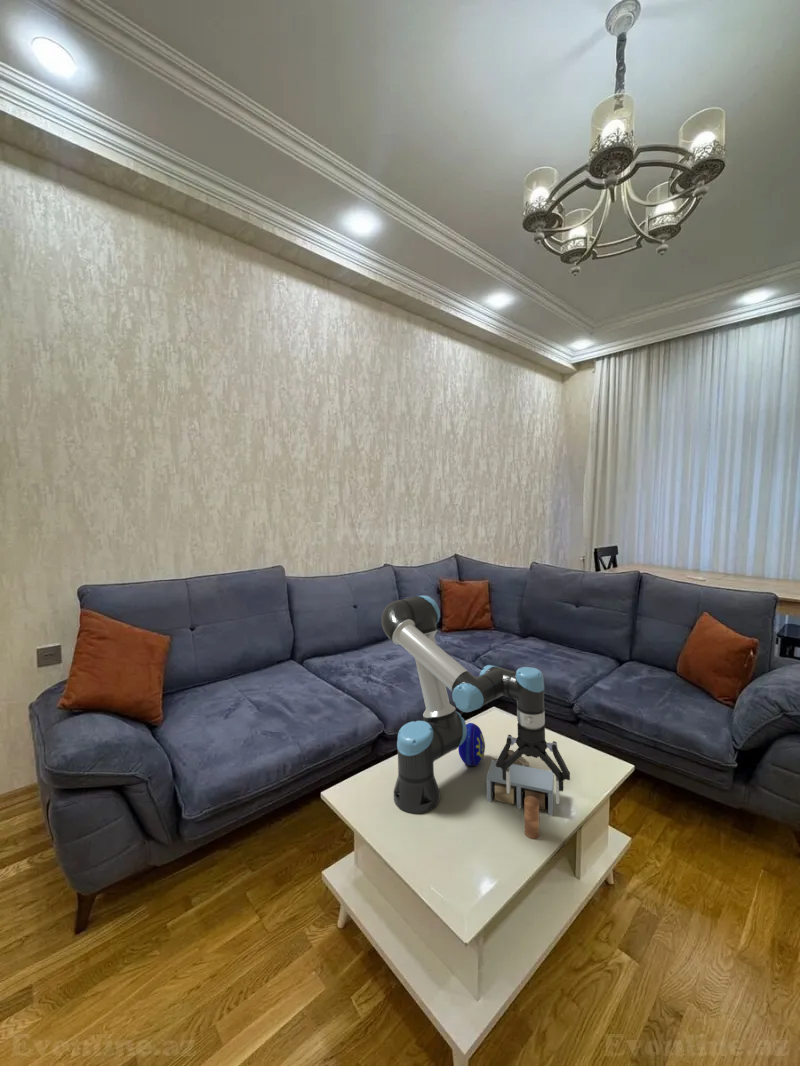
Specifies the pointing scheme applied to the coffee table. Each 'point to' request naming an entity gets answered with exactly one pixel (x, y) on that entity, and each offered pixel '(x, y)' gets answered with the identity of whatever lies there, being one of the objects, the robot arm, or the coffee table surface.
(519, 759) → the stone
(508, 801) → the oak block
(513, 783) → the cubby shelf
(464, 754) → the ornament
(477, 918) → the coffee table surface
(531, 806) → the tethered block
